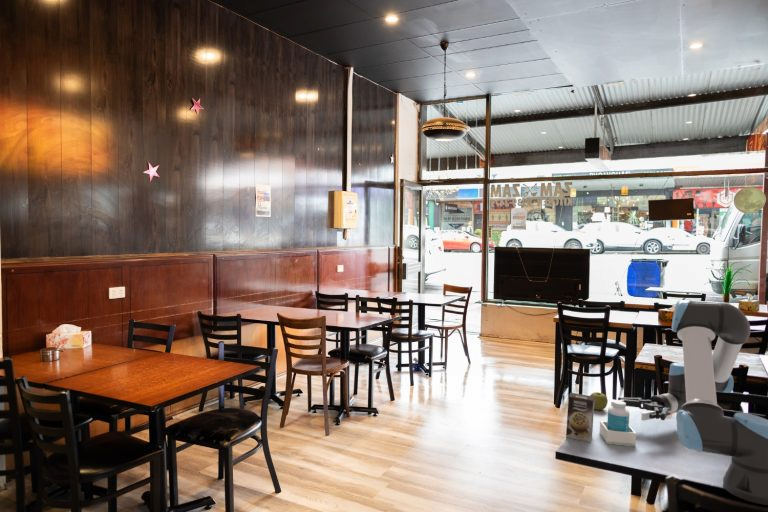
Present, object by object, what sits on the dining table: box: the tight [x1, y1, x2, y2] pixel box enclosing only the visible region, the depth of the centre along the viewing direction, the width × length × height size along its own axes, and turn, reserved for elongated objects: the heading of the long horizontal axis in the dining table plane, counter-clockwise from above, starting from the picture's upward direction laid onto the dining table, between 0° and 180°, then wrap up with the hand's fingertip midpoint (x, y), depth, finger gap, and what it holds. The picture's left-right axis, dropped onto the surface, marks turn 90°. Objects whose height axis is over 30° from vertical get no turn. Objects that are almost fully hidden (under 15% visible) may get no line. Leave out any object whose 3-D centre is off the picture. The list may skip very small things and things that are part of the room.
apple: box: [589, 392, 608, 411], centre depth 231 cm, size 8×8×7 cm
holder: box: [599, 420, 637, 447], centre depth 196 cm, size 10×10×5 cm
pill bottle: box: [606, 400, 630, 432], centre depth 196 cm, size 8×7×14 cm
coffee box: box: [565, 392, 595, 443], centre depth 197 cm, size 9×6×16 cm
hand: (626, 410), depth 199 cm, fingers open, 13 cm apart
